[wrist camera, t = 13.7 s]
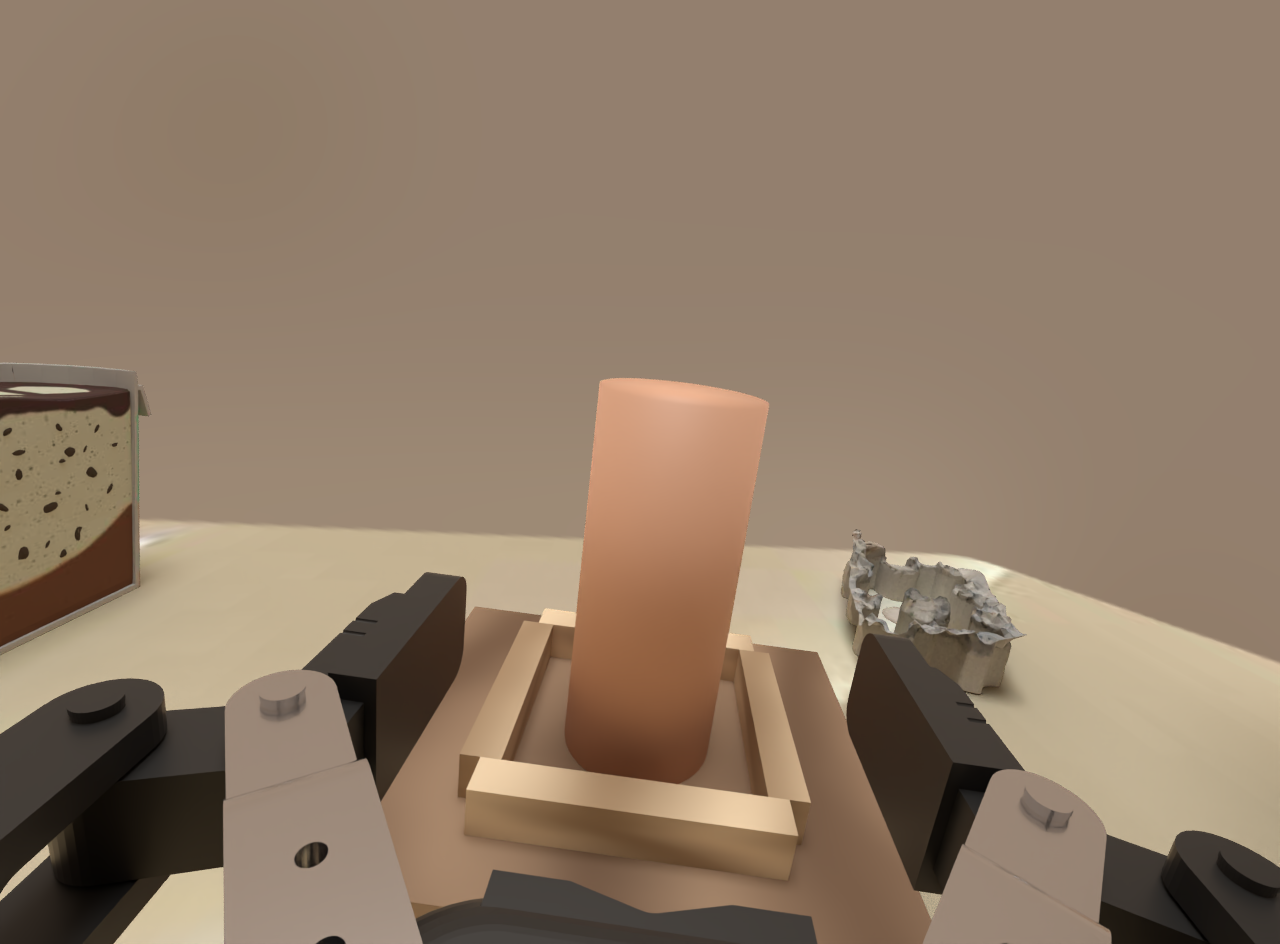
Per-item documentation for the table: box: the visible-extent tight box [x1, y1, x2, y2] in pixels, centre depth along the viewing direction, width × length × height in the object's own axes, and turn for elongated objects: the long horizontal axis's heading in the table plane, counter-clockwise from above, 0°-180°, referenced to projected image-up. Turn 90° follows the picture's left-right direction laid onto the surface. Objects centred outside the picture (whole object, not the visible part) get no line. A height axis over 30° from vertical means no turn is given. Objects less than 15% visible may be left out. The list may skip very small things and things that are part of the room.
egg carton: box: [841, 529, 1027, 694], centre depth 32 cm, size 11×8×4 cm
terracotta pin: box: [565, 378, 769, 784], centre depth 19 cm, size 5×5×12 cm
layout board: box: [381, 607, 931, 944], centre depth 21 cm, size 16×14×2 cm
